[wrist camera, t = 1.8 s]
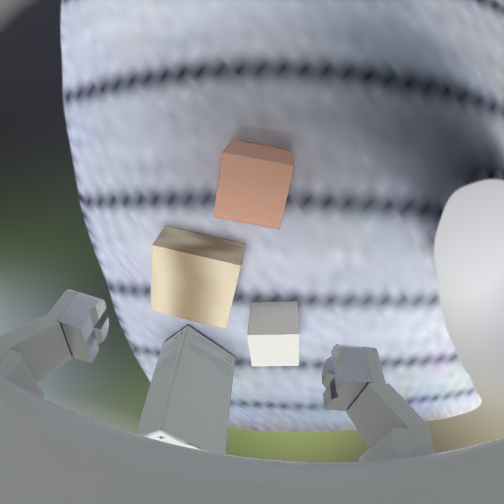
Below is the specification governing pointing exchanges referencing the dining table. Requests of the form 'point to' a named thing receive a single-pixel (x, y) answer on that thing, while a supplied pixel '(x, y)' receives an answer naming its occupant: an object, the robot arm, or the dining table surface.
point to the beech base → (194, 276)
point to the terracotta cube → (253, 183)
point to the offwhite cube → (274, 333)
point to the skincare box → (190, 394)
